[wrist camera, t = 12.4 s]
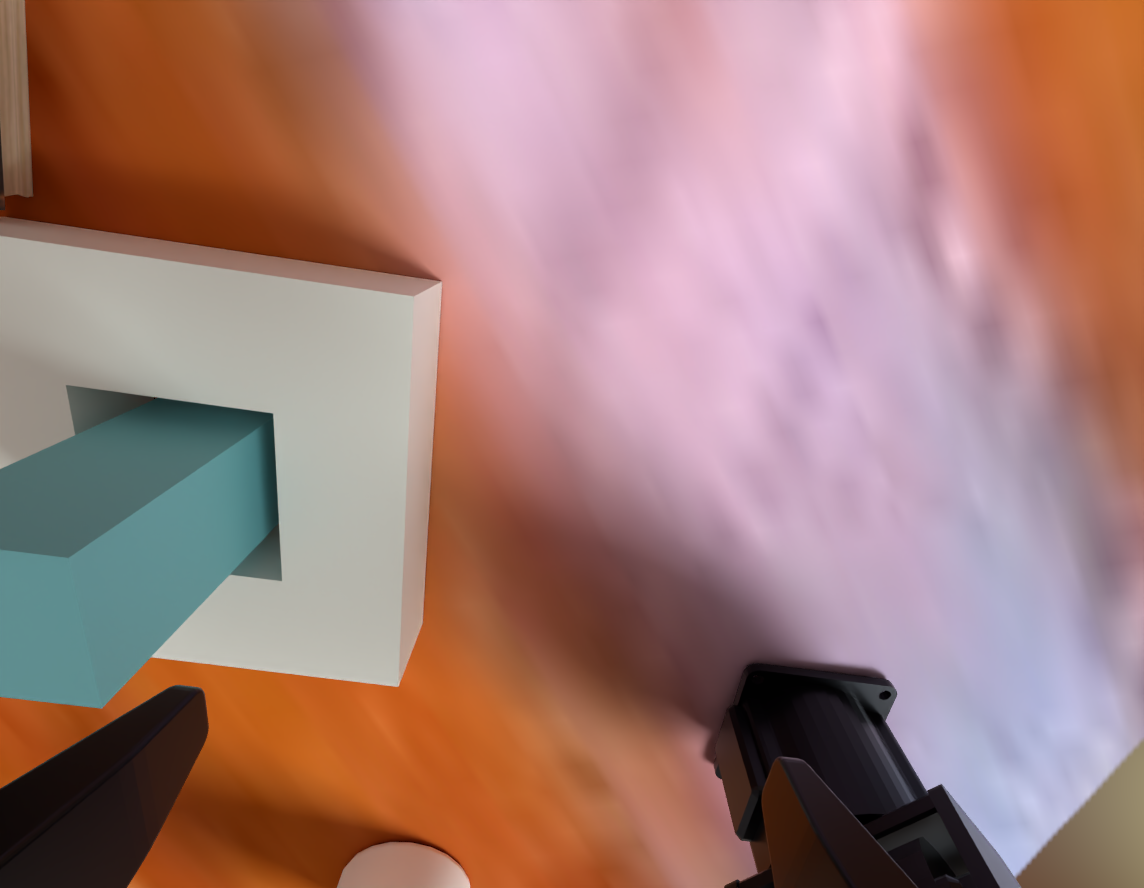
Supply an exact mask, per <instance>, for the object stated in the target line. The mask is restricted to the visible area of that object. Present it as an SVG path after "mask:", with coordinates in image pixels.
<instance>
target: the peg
mask: <svg viewBox="0 0 1144 888" xmlns="http://www.w3.org/2000/svg"><path fill="white" fill-rule="evenodd" d="M278 524H279V513H278V494H277V475H276V456H275V438H274V419H273V413H267V412H259V411H252V410H245V409H238V408H230V407H223V406H216V405H209V404H201V403H194V402H187V401H179V400H172V399H165V398H156V399H154V400H152V401H150V402H148V403H145V404H143V405H141V406H139V407H136V408H134V409H132V410H130V411H128V412H125V413H123V414H121V415H119V416H117V417H114V418H112V419H110V420H108V421H105V422H103V423H101V424H99V425H97V426H94V427H92V428H90V429H88V430H86V431H83V432H81V433H79V434H77V435H74V436H72V437H70V438H68V439H66V440H63V441H61V442H59V443H57V444H55V445H52V446H50V447H48V448H46V449H43V450H41V451H39V452H37V453H35V454H32V455H30V456H28V457H26V458H24V459H21V460H19V461H17V462H15V463H12V464H10V465H8V466H6V467H4V468H1V469H0V697H6V698H15V699H24V700H32V701H41V702H50V703H59V704H68V705H76V706H85V707H94V708H103V707H104V706H105V705H106V703H107V702H108V701H109V700H110V699H111V698H112V697H113V696H114V695H115V694H116V693H117V692H118V691H119V690H120V689H121V688H122V687H123V686H124V685H125V684H126V683H127V682H128V680H129V679H130V678H131V677H132V676H133V675H134V674H135V673H136V672H137V671H138V670H139V669H140V668H141V667H142V666H143V665H144V664H145V663H146V662H147V661H148V660H149V659H150V657H151V656H152V655H153V654H154V653H155V652H156V651H157V650H158V649H159V648H160V647H161V646H162V645H163V644H164V643H165V642H166V641H167V640H168V639H169V638H170V637H171V636H172V634H173V633H174V632H175V631H176V630H177V629H178V628H179V627H180V626H181V625H182V624H183V623H184V622H185V621H186V620H187V619H188V618H189V617H190V616H191V615H192V614H193V613H194V611H195V610H196V609H197V608H198V607H199V606H200V605H201V604H202V603H203V602H204V601H205V600H206V599H207V598H208V597H209V596H210V595H211V594H212V593H213V592H214V591H215V590H216V588H217V587H218V586H219V585H220V584H221V583H222V582H223V581H224V580H225V579H226V578H227V577H228V576H229V575H230V574H231V573H232V572H233V571H234V570H235V569H236V568H237V567H238V565H239V564H240V563H241V562H242V561H243V560H244V559H245V558H246V557H247V556H248V555H249V554H250V553H251V552H252V551H253V550H254V549H255V548H256V547H257V546H258V545H259V544H260V542H261V541H262V540H263V539H264V538H265V537H266V536H267V535H268V534H269V533H270V532H271V531H272V530H273V529H274V528H275V527H276V526H277V525H278Z"/></svg>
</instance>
